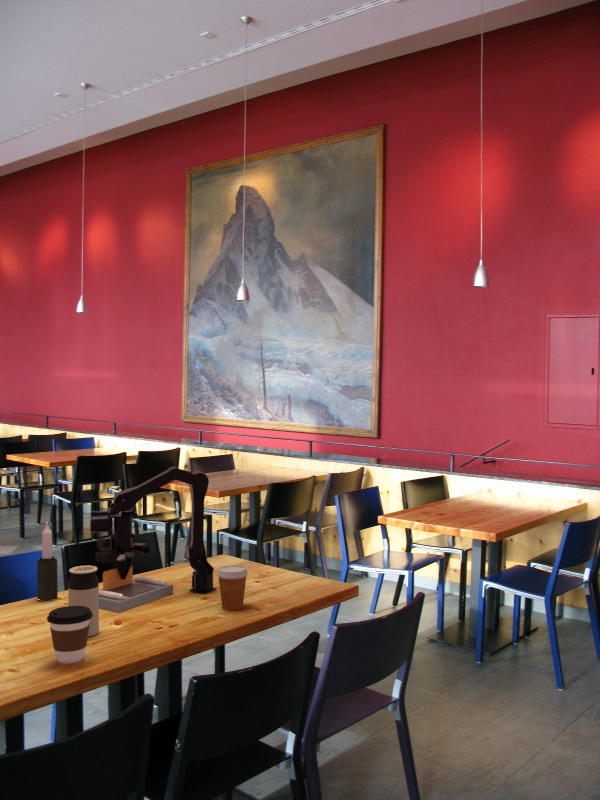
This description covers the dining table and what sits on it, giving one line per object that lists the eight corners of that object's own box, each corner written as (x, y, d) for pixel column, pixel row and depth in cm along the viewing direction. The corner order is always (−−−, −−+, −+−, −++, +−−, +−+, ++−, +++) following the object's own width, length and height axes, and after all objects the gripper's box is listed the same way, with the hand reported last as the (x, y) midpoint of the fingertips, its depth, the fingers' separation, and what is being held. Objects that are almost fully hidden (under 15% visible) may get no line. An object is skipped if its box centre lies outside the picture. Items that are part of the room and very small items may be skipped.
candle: (45, 602, 233) (44, 523, 233) (35, 599, 236) (35, 521, 236) (59, 598, 237) (58, 521, 237) (49, 596, 241) (49, 519, 240)
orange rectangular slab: (132, 582, 244) (132, 564, 244) (107, 590, 234) (107, 571, 234) (128, 581, 245) (128, 564, 245) (103, 589, 236) (102, 571, 235)
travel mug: (104, 633, 203) (103, 568, 203) (77, 640, 198) (76, 573, 198) (89, 627, 209) (89, 563, 209) (63, 633, 204) (63, 568, 203)
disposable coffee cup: (210, 609, 226) (210, 570, 225) (228, 601, 234) (227, 563, 234) (237, 613, 221) (237, 573, 221) (253, 605, 230) (253, 567, 229)
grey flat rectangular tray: (173, 593, 243) (173, 579, 243) (119, 612, 223) (119, 596, 223) (137, 586, 252) (137, 572, 251) (82, 604, 231) (82, 589, 231)
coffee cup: (55, 670, 177) (54, 620, 177) (41, 657, 186) (41, 610, 185) (99, 660, 183) (99, 612, 183) (84, 648, 192) (83, 602, 192)
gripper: (126, 524, 250) (126, 570, 251) (83, 533, 234) (83, 582, 235) (150, 527, 244) (150, 574, 245) (107, 536, 229) (108, 587, 229)
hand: (123, 579), depth 238 cm, fingers closed, pressing on orange rectangular slab
